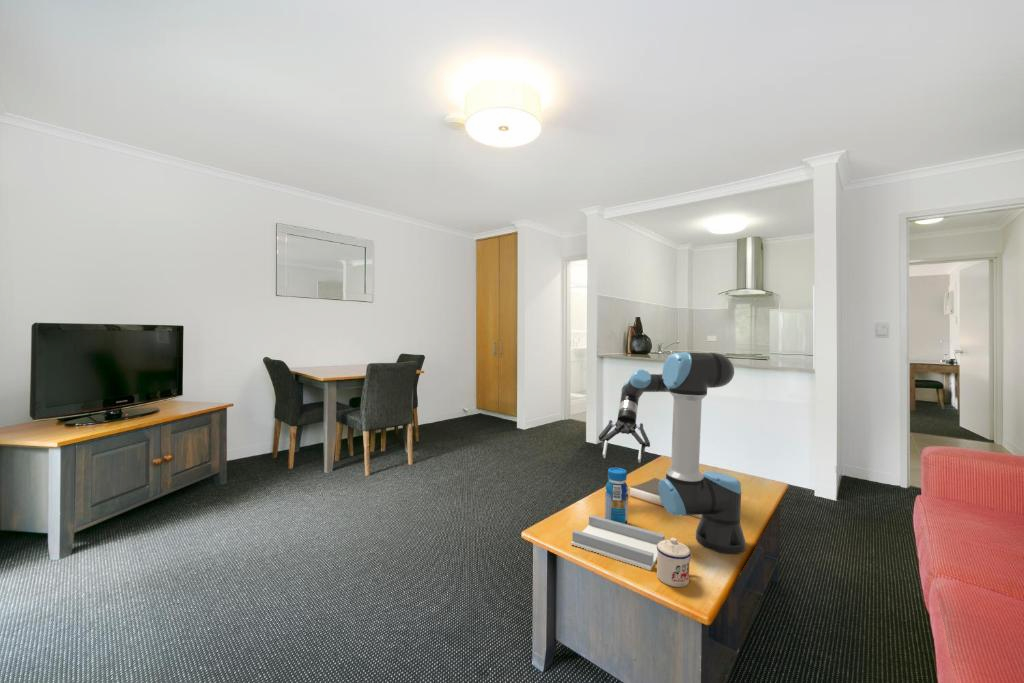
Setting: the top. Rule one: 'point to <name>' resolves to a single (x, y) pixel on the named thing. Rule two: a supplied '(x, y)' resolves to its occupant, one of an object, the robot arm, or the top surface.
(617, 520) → the beverage bottle
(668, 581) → the teacup with lid
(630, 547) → the tray
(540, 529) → the top surface
